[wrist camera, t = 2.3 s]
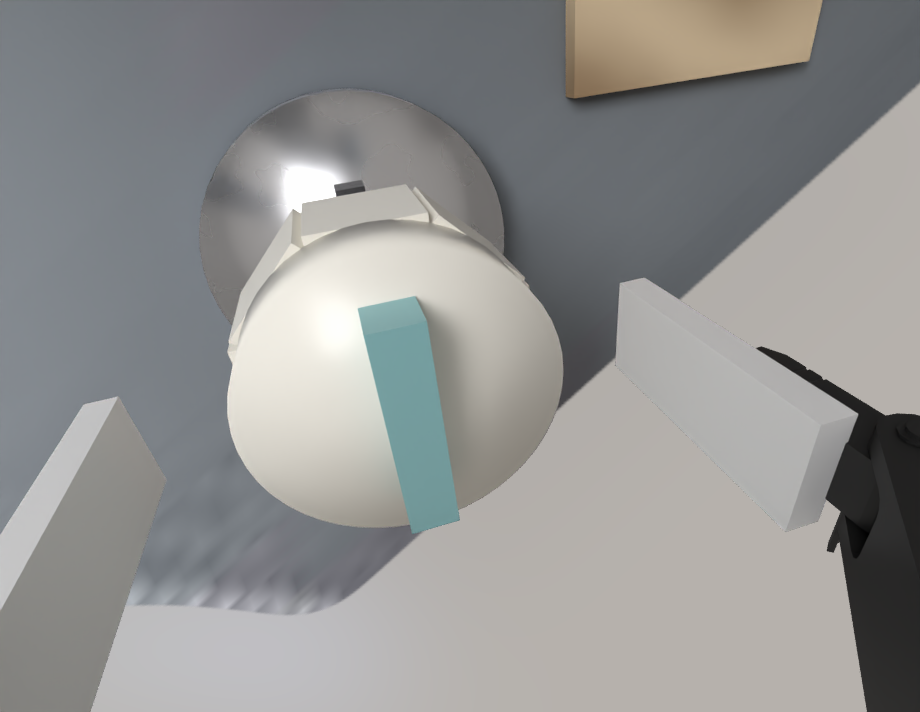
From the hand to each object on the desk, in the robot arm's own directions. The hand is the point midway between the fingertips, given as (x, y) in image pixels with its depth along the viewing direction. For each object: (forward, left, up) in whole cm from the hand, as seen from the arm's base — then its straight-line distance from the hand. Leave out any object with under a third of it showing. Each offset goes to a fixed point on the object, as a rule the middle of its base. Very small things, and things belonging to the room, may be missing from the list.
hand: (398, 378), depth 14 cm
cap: (0, 0, -3) cm, 3 cm away
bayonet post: (0, 0, -10) cm, 10 cm away
